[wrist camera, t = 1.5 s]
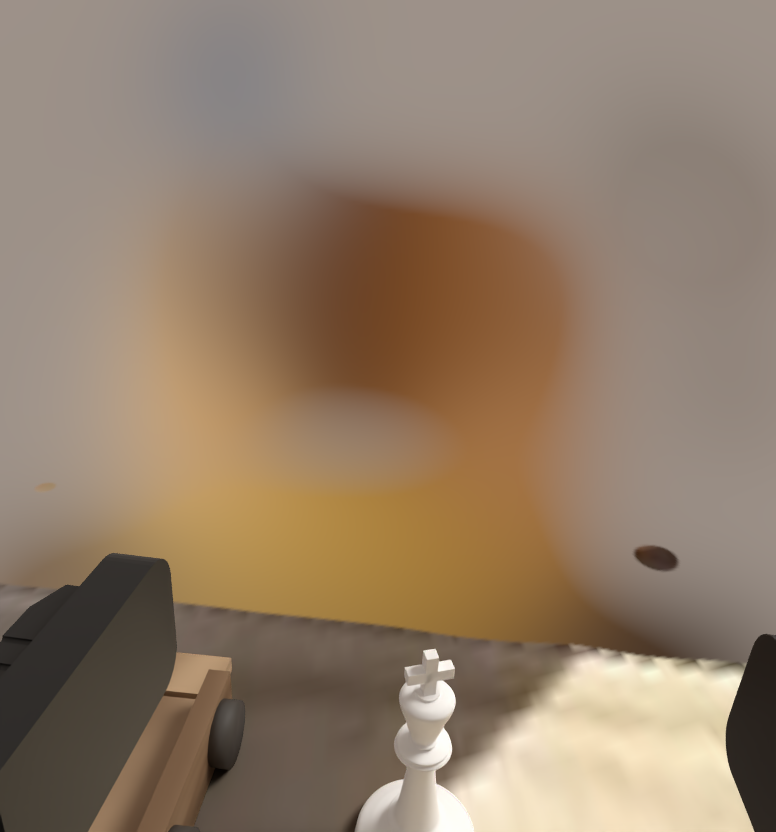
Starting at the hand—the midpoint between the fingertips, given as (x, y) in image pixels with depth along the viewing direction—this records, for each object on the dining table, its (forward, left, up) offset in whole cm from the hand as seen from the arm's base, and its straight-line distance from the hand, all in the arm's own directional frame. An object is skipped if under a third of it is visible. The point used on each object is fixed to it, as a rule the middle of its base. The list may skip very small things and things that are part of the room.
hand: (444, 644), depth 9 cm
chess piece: (0, -11, -20) cm, 23 cm away
